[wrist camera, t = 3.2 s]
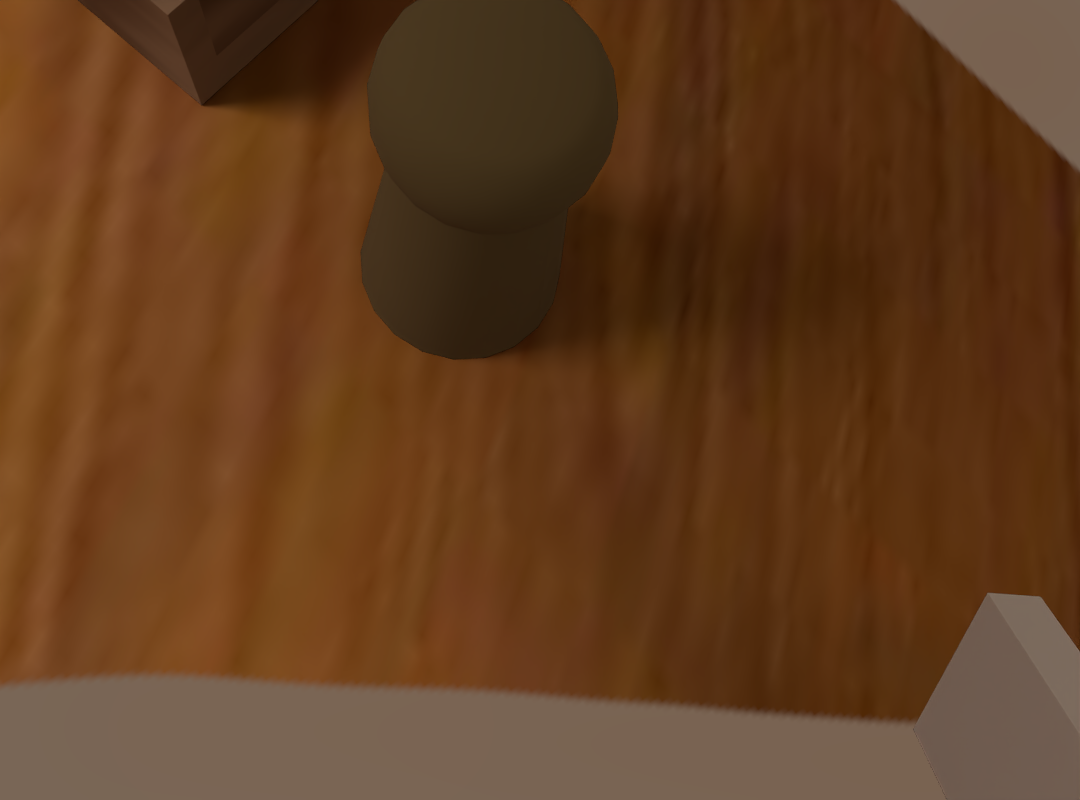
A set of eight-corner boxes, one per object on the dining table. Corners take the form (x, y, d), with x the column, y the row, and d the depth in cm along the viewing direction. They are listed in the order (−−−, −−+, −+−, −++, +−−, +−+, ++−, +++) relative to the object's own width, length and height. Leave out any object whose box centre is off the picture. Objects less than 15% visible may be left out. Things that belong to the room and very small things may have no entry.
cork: (492, 139, 30) (549, -121, 19) (596, 298, 29) (714, 122, 19) (322, 226, 28) (281, -3, 18) (427, 396, 28) (450, 265, 17)
